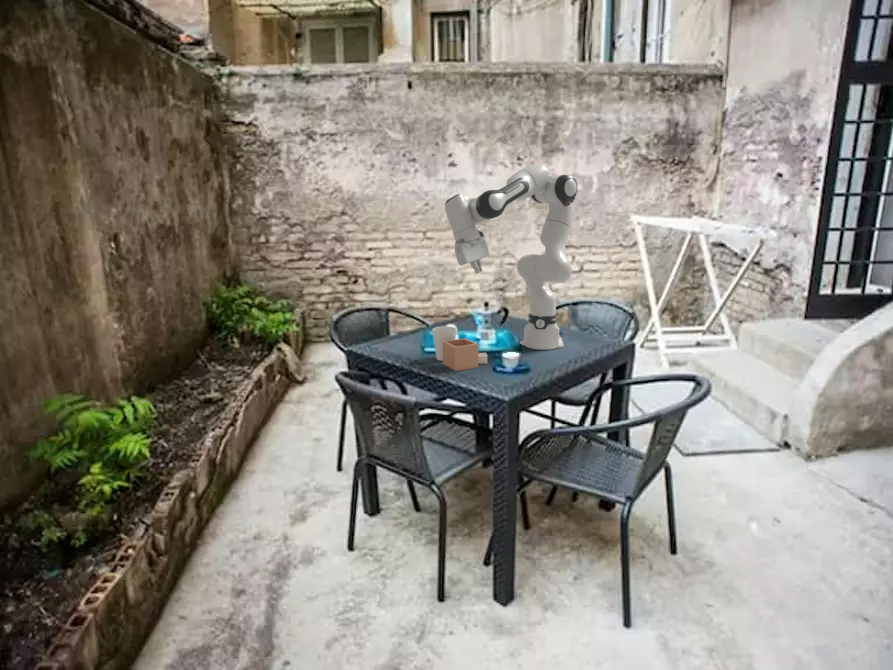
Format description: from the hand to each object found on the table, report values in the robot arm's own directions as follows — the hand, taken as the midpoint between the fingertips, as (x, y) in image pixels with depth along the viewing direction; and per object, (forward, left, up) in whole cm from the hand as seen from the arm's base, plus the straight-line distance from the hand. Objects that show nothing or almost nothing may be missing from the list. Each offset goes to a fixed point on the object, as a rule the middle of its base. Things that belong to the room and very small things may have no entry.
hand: (479, 272), depth 224 cm
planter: (+8, -5, -36) cm, 37 cm away
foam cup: (0, -14, -36) cm, 39 cm away
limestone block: (+1, +1, -36) cm, 36 cm away
